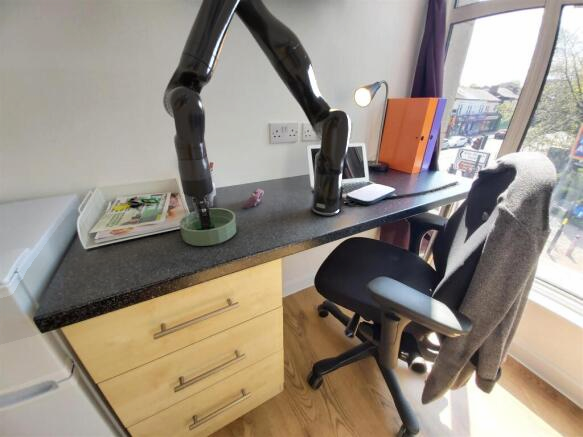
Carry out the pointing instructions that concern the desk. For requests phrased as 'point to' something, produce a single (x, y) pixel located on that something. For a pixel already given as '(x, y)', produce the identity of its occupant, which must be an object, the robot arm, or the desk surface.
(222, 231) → the bowl
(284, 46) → the robot arm
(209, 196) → the lightbulb
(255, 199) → the pink knobbly lump
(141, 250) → the desk surface
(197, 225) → the sponge
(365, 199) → the external hard drive
